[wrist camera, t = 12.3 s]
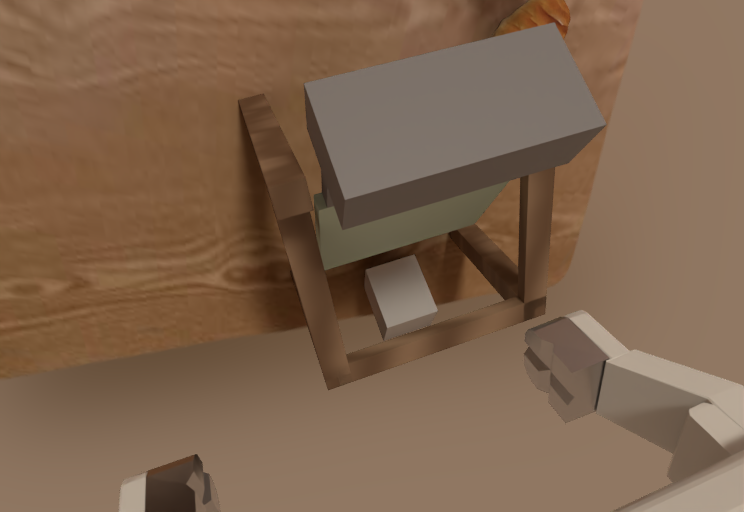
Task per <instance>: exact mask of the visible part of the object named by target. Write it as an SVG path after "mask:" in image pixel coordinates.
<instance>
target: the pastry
mask: <svg viewBox="0 0 744 512" xmlns="http://www.w3.org/2000/svg"><path fill="white" fill-rule="evenodd" d="M554 22H555V24H556V26H557V28H558V30H559V32H560V34H561V36H562V38H563V40H564V38H565V35H566V33H567V30H568V24H569V22H570V13H569V9H568V7H567V5H566V3H565V1H564V0H529V1H527V2H526V3H525V4H524V5H523V6H521V7H519V8H518V9H517V10H516V11H515V12H514V13H513V14H511V15H510V16H509V17H507V18H505V19H503V20H502V21H501V23H500V25H499V27H498V29H497V30H496V31H495V32H494V33H493V34H492V36H491V37H490V38H492V37H496V36H500V35H504V34H508V33H513V32H517V31H521V30H525V29H529V28H533V27H537V26H541V25H545V24H549V23H554Z"/></svg>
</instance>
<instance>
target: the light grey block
mask: <svg viewBox="0 0 744 512" xmlns="http://www.w3.org/2000/svg"><path fill="white" fill-rule="evenodd" d="M364 288H365V291H366V294H367V296H368V299H369V302H370V305H371V307H372V310H373V313H374V316H375V318H376V321H377V324H378V327H379V329H380V332H381V335H382V338H383V340H384V341H385V340H388V339H391V338H394V337H397V336H400V335H403V334H406V333H409V332H412V331H414V330H417V329H420V328H423V327H426V326H429V325H430V324H431V322H432V321H433V319H434V317H435V315H436V314H437V312H438V310H437V307H436V305H435V303H434V300H433V298H432V295H431V293H430V291H429V288H428V286H427V283H426V281H425V279H424V276H423V274H422V271H421V269H420V266H419V264H418V262H417V259H416V257H415V254H414V255H411V256H408V257H405V258H401V259H398V260H395V261H392V262H389V263H385V264H382V265H379V266H376V267H373V268H369V269H366V271H365V283H364Z"/></svg>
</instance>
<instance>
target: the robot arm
mask: <svg viewBox="0 0 744 512" xmlns="http://www.w3.org/2000/svg"><path fill="white" fill-rule="evenodd" d="M525 342H526V343H527V344H528V346H529V347H528V349H527V350H526V352H525V353H524V365H525V368H526V371H527V374H528V376H529V377H530V379H531V381H532V382H533V384H534V385H535V386H536V388H537V389H539V390H541V391H544V392H546V393H549V401H548V402H549V404H550V405H551V406H552V407H553V409H554V410H555V411H556V412H557V413H558V414H559V416H560V417H561V418H562V420H563V421H564V422H565V423H567V422H570V421H572V420H575V419H577V418H580V417H583V416H585V415H588V414H590V413H593V412H596V413H597V414H599V415H600V416H602V417H604V418H606V419H608V420H610V421H612V422H614V423H616V424H618V425H619V426H621V427H623V428H625V429H627V430H629V431H631V432H633V433H635V434H637V435H639V436H640V437H642V438H644V439H646V440H648V441H650V442H652V443H654V444H656V445H658V446H659V447H661V448H663V449H665V450H667V451H669V452H671V453H673V456H672V459H671V462H670V465H669V468H668V472H667V477H668V478H669V479H670V480H671V481H672V482H673V483H671V484H669V485H667V486H665V487H663V488H661V489H659V490H656V491H654V492H652V493H650V494H648V495H646V496H643V497H641V498H639V499H637V500H635V501H633V502H631V503H628V504H626V505H625V506H622V507H620V508H618V509H616V510H614V511H611V512H744V387H743V386H742V385H740V384H737V383H734V382H731V381H728V380H725V379H722V378H719V377H716V376H713V375H710V374H707V373H704V372H701V371H698V370H695V369H692V368H689V367H686V366H683V365H680V364H677V363H674V362H671V361H668V360H665V359H662V358H659V357H656V356H653V355H650V354H647V353H644V352H641V351H638V350H632V351H629V350H627V348H626V347H624V346H623V345H622V344H621V343H620V342H619V341H618V340H617V339H615V338H614V337H613V336H612V335H611V334H610V333H609V332H608V331H607V330H606V329H604V328H603V327H602V326H601V325H600V324H599V323H598V322H597V321H595V319H593V318H592V317H591V316H590V315H589V314H588V313H587V312H585V311H583V310H579V311H576V312H574V313H571V314H568V315H566V316H564V317H559V318H556V319H554V320H551V321H549V322H546V323H544V324H541V325H538V326H536V327H534V328H531V329H528V330H527V332H526V333H525ZM119 512H220V504H219V500H218V495H217V491H216V488H215V485H214V482H213V480H212V478H211V476H210V475H209V474H207V473H204V472H203V464H202V461H201V460H200V458H199V456H198V455H197V454H195V455H192V456H189V457H186V458H183V459H181V460H177V461H175V462H172V463H169V464H166V465H163V466H160V467H157V468H154V469H151V470H149V471H146V472H143V473H141V474H138V475H135V476H132V477H129V478H127V479H124V480H123V483H122V486H121V488H120V501H119Z"/></svg>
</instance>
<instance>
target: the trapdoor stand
mask: <svg viewBox="0 0 744 512" xmlns="http://www.w3.org/2000/svg"><path fill="white" fill-rule="evenodd" d="M238 101H239V104H240V107H241V111H242V114H243V117H244V121H245V124H246V127H247V130H248V133H249V136H250V139H251V142H252V145H253V148H254V151H255V154H256V157H257V160H258V163H259V166H260V169H261V172H262V175H263V178H264V181H265V184H266V187H267V190H268V193H269V196H270V199H271V203H272V206H273V209H274V213H275V216H276V219H277V223H278V226H279V229H280V233H281V236H282V239H283V243H284V246H285V249H286V252H287V256H288V259H289V262H290V266H291V269H292V270H291V271H290V272H291V275H292V279H293V282H294V285H295V288H296V291H297V295H298V298H299V301H300V304H301V307H302V310H303V313H304V316H305V320H306V323H307V326H308V329H309V332H310V335H311V338H312V341H313V345H314V348H315V351H316V354H317V357H318V360H319V363H320V366H321V369H322V373H323V376H324V379H325V382H326V385H327V388H328V390H330V389H333V388H336V387H339V386H342V385H345V384H347V383H350V382H353V381H356V380H358V379H362V378H365V377H367V376H370V375H373V374H376V373H379V372H382V371H385V370H387V369H390V368H393V367H396V366H399V365H402V364H404V363H407V362H410V361H413V360H416V359H419V358H422V357H424V356H427V355H430V354H433V353H436V352H439V351H442V350H444V349H447V348H450V347H453V346H456V345H459V344H461V343H464V342H467V341H470V340H472V339H476V338H479V337H481V336H484V335H487V334H490V333H493V332H496V331H498V330H501V329H504V328H507V327H510V326H513V325H516V324H518V323H521V322H524V321H527V320H529V319H532V318H536V317H538V316H541V315H544V314H545V308H546V294H547V279H548V264H549V249H550V235H551V220H552V205H553V190H554V176H555V167H554V168H550V169H547V170H543V171H540V172H537V173H533V174H530V175H527V176H523V177H521V178H520V218H519V259H518V267H517V266H516V265H515V264H514V263H513V262H512V261H511V260H510V259H509V258H508V257H507V256H506V255H505V254H504V253H503V252H502V251H501V250H500V249H499V248H498V247H497V246H496V245H495V243H494V242H493V241H492V240H491V239H490V238H489V237H488V236H487V235H486V234H485V233H484V232H483V231H482V230H481V229H480V228H479V227H478V226H477V225H476V224H474V225H470V226H467V227H464V228H461V229H457V230H454V231H451V239H452V240H453V241H454V242H455V243H456V244H457V246H458V247H459V248H460V249H461V250H462V251H463V253H464V254H465V255H466V256H467V257H468V258H469V259H470V261H471V262H472V263H473V264H474V265H475V266H476V267H477V269H478V270H479V271H480V272H481V273H482V274H483V276H484V277H485V278H486V279H487V280H488V281H489V282H490V284H491V285H492V286H493V287H494V288H495V289H496V291H497V292H498V293H499V294H500V295H501V296H502V297H503V299H504V300H505V301H502V302H499V303H496V304H493V305H490V306H487V307H484V308H481V309H478V310H476V311H473V312H470V313H467V314H464V315H461V316H458V317H455V318H452V319H449V320H446V321H444V322H440V323H438V324H434V325H432V326H429V327H426V328H423V329H420V330H417V331H414V332H411V333H408V334H405V335H402V336H399V337H396V338H393V339H390V340H388V341H385V342H382V343H379V344H376V345H373V346H370V347H367V348H364V349H361V350H358V351H355V352H352V353H349V354H346V353H345V349H344V345H343V341H342V337H341V333H340V329H339V325H338V321H337V317H336V313H335V309H334V305H333V301H332V297H331V293H330V289H329V286H328V282H327V278H326V274H325V270H324V266H323V262H322V258H321V254H320V250H319V246H318V242H317V238H316V234H315V230H314V226H313V223H312V219H311V215H310V211H313V206H312V202H311V198H310V194H309V190H308V186H307V182H306V178H305V176H304V174H303V172H302V170H301V168H300V166H299V164H298V162H297V160H296V158H295V156H294V154H293V152H292V150H291V148H290V146H289V144H288V142H287V140H286V138H285V136H284V134H283V132H282V130H281V128H280V126H279V124H278V122H277V120H276V118H275V116H274V114H273V112H272V110H271V108H270V106H269V104H268V102H267V100H266V98H265V96H264V94H260V95H256V96H252V97H248V98H244V99H240V100H238Z"/></svg>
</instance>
